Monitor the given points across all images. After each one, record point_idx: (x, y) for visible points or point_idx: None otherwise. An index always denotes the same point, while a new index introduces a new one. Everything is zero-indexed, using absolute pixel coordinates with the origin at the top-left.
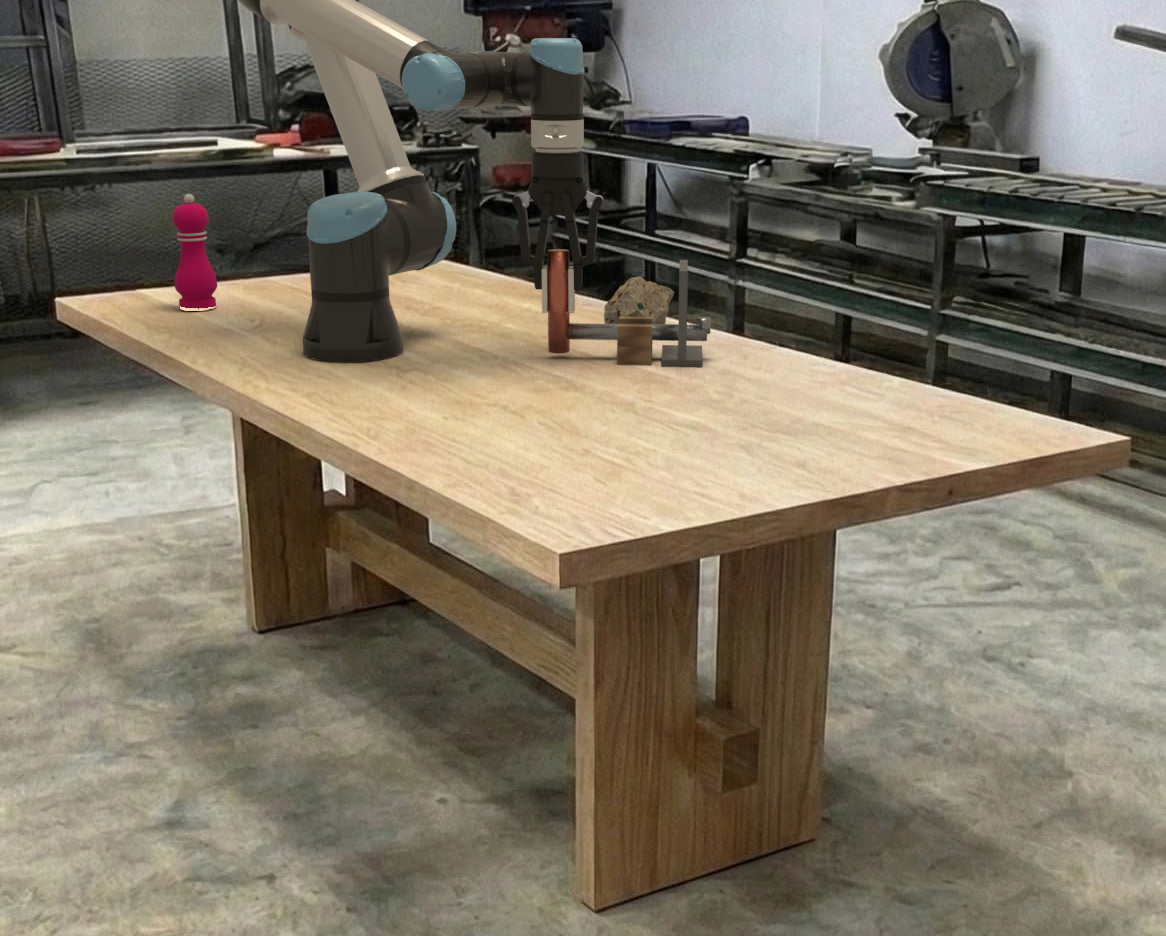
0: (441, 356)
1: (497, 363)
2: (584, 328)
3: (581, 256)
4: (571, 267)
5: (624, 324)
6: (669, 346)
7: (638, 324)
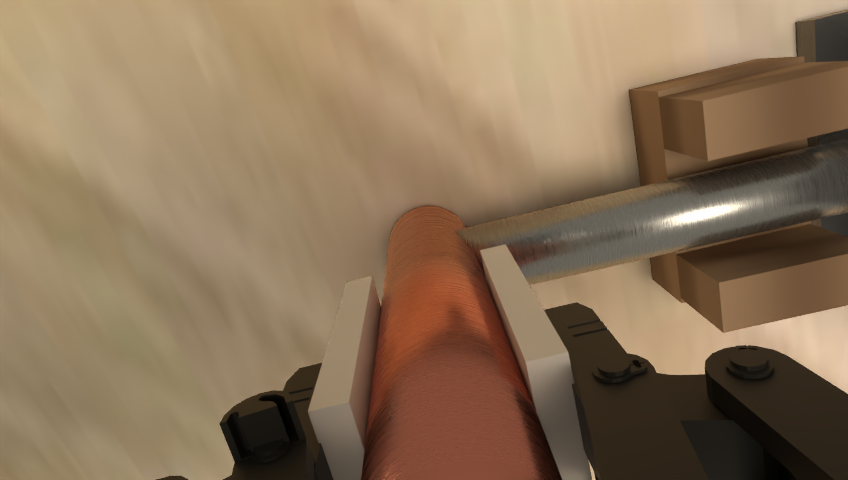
0: (22, 334)
1: (256, 373)
2: (553, 279)
3: (667, 400)
4: (555, 408)
5: (750, 285)
6: (845, 39)
7: (814, 266)
